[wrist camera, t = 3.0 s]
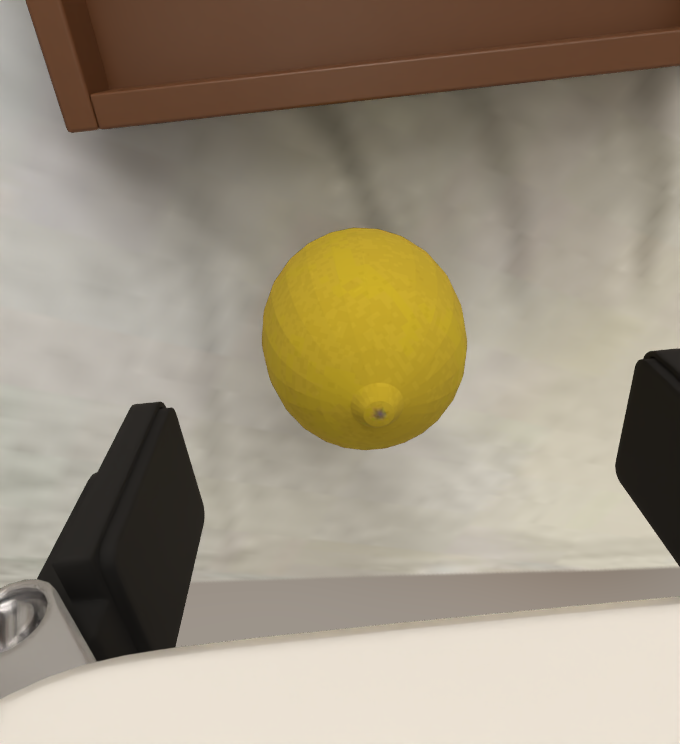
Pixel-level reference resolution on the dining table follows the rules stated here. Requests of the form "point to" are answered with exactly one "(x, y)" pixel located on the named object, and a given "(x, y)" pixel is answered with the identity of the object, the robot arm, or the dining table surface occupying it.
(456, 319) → the lemon
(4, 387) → the dining table surface
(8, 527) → the dining table surface
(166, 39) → the tray
